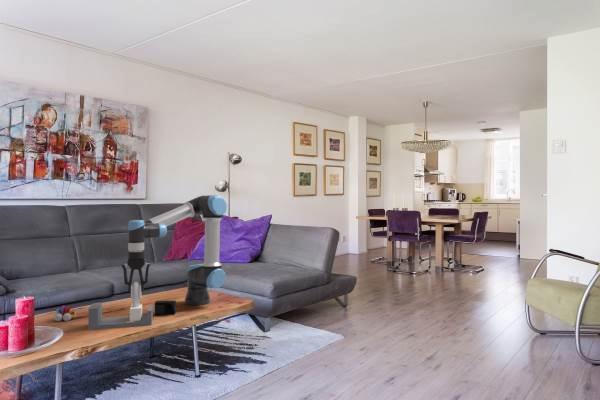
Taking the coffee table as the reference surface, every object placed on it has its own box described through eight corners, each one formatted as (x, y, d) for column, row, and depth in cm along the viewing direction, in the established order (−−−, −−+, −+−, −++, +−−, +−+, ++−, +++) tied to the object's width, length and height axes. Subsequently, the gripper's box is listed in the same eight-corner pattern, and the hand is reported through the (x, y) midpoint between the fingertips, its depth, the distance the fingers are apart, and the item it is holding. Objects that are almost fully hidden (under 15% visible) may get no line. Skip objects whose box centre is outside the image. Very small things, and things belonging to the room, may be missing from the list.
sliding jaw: (142, 315, 211) (142, 280, 211) (140, 320, 202) (140, 283, 202) (131, 316, 209) (131, 281, 209) (129, 321, 200) (129, 284, 201)
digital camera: (153, 316, 218) (153, 303, 218) (156, 313, 224) (156, 300, 224) (174, 315, 220) (174, 302, 220) (175, 313, 225) (175, 300, 225)
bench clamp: (152, 318, 213) (152, 299, 214) (151, 325, 202) (151, 304, 202) (93, 323, 205) (93, 303, 205) (88, 330, 194) (88, 308, 194)
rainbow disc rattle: (71, 321, 209) (71, 307, 209) (51, 322, 207) (51, 308, 207) (78, 317, 217) (78, 303, 217) (58, 318, 216) (58, 304, 216)
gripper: (153, 249, 212) (153, 295, 212) (119, 250, 207) (119, 297, 207) (153, 251, 205) (153, 298, 204) (117, 252, 200) (117, 300, 200)
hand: (136, 297), depth 206 cm, fingers closed on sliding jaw, 3 cm apart
